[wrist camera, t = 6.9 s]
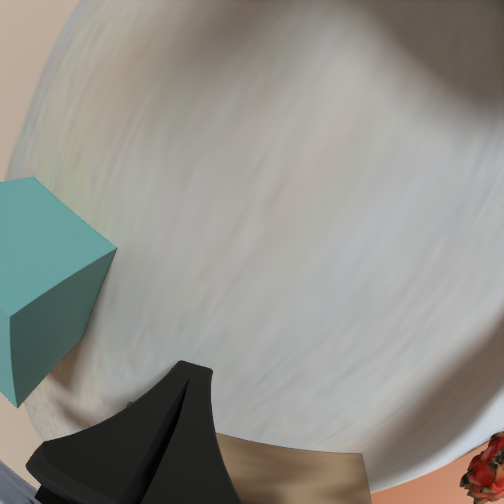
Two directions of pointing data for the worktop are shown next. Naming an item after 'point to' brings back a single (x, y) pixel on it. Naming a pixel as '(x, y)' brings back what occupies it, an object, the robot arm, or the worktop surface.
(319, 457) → the walnut block
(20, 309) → the teal cube
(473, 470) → the dragon fruit
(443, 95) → the worktop surface
